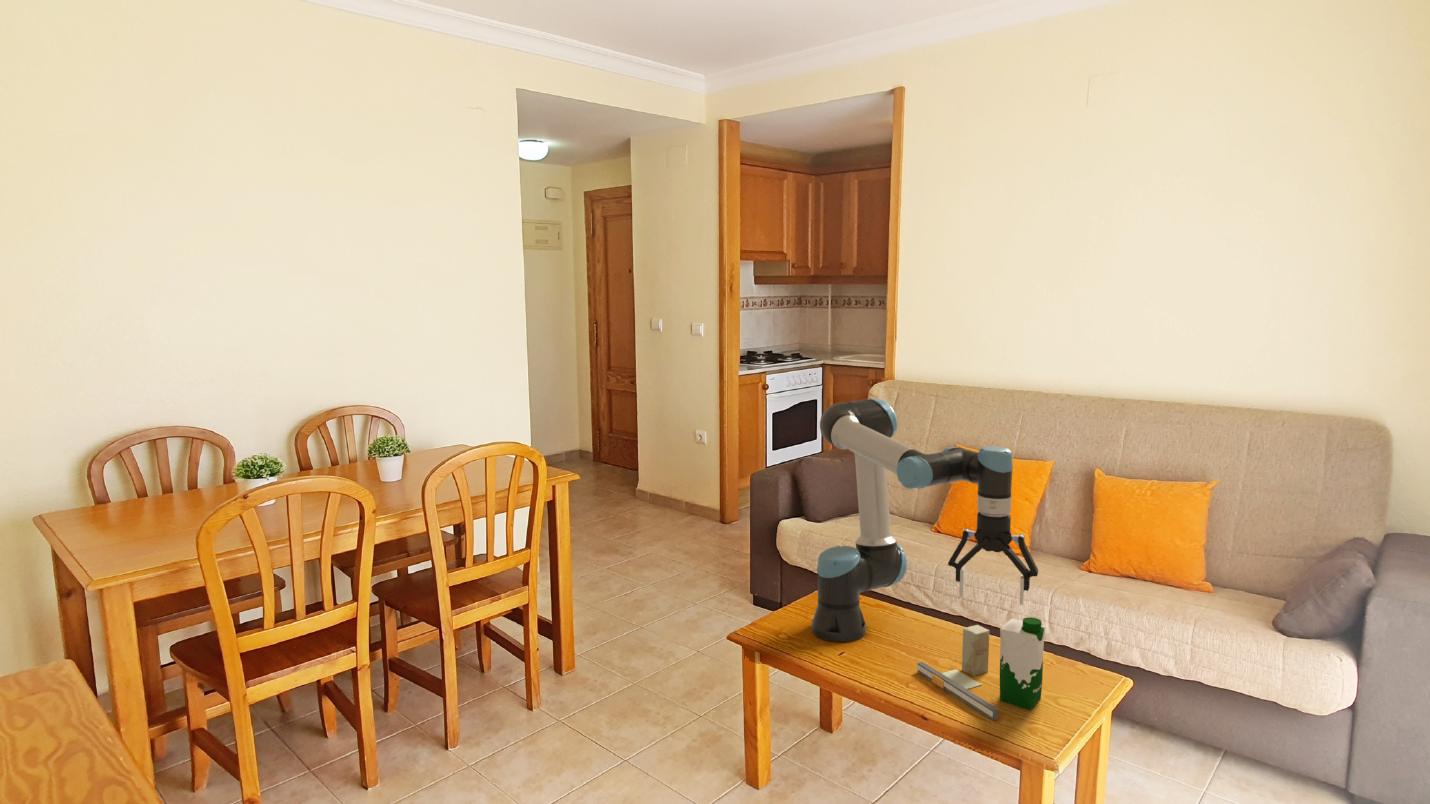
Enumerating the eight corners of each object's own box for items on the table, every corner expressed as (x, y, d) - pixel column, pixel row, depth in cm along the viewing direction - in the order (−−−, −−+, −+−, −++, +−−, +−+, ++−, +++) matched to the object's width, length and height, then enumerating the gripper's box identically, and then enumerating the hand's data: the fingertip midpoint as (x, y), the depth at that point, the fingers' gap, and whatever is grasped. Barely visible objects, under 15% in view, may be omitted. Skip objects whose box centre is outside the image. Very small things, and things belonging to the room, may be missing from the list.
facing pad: (933, 676, 204) (933, 675, 204) (955, 669, 206) (955, 669, 206) (958, 691, 195) (958, 691, 195) (981, 685, 198) (981, 684, 198)
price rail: (916, 672, 206) (916, 663, 205) (922, 670, 206) (922, 661, 206) (991, 721, 182) (991, 710, 182) (997, 718, 183) (997, 708, 183)
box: (973, 676, 203) (974, 634, 201) (961, 669, 207) (961, 628, 205) (989, 671, 205) (990, 629, 204) (976, 664, 209) (977, 623, 207)
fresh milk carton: (1033, 713, 185) (1036, 629, 182) (994, 701, 191) (996, 620, 188) (1046, 698, 192) (1049, 617, 189) (1007, 686, 197) (1009, 608, 194)
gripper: (937, 511, 194) (935, 596, 197) (1050, 522, 184) (1046, 612, 187) (942, 503, 201) (941, 586, 204) (1051, 513, 190) (1048, 600, 193)
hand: (991, 598), depth 195 cm, fingers open, 13 cm apart
